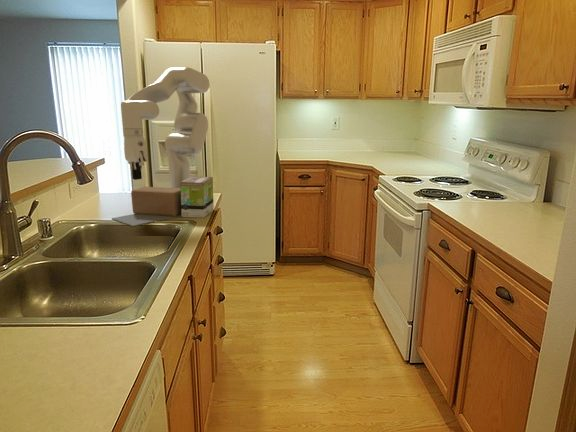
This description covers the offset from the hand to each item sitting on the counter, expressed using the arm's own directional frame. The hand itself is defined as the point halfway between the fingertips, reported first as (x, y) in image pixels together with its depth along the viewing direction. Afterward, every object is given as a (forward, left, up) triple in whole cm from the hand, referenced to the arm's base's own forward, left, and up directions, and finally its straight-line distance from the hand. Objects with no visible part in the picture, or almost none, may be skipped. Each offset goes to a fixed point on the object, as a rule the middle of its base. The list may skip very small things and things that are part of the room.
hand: (137, 179), depth 177 cm
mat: (0, +5, -15) cm, 16 cm away
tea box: (-18, +15, -15) cm, 28 cm away
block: (-2, -6, -10) cm, 12 cm away
